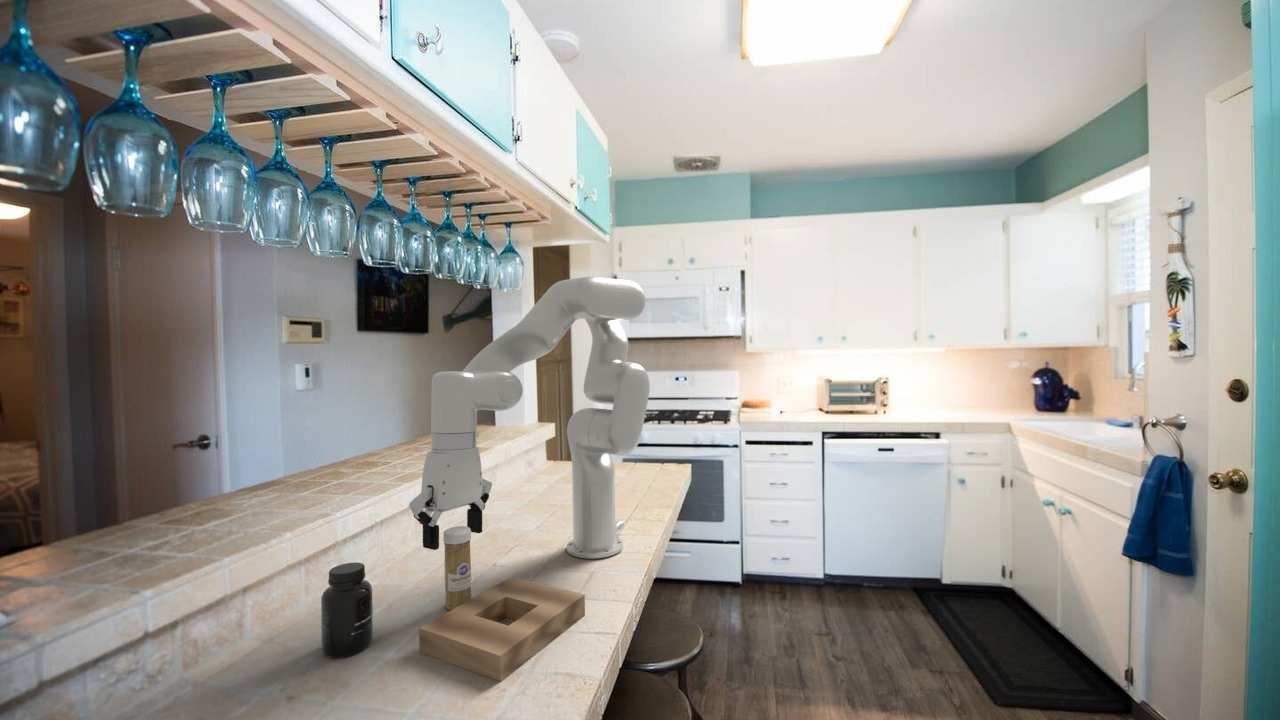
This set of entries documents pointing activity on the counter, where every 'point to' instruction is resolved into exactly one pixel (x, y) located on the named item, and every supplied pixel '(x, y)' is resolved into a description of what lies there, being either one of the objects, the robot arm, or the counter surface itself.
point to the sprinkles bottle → (457, 566)
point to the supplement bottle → (346, 611)
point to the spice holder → (502, 627)
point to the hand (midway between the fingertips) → (453, 539)
